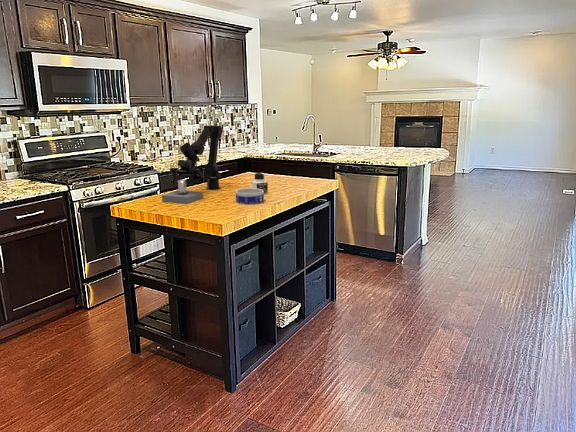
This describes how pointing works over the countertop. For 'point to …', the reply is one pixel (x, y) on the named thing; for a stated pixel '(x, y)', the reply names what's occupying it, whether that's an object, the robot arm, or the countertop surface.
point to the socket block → (182, 197)
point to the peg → (182, 187)
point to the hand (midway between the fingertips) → (181, 185)
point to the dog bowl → (249, 195)
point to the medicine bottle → (260, 182)
